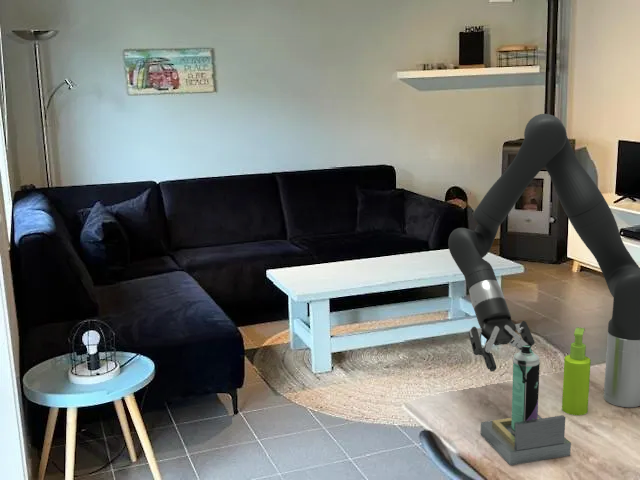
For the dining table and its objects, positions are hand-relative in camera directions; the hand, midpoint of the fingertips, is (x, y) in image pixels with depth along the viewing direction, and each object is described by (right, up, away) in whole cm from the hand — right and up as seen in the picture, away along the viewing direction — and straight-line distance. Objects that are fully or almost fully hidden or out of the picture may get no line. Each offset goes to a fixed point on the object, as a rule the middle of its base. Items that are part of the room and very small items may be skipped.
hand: (511, 368), depth 169 cm
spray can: (+2, -13, -3) cm, 14 cm away
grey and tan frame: (+2, -16, -3) cm, 17 cm away
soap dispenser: (+19, -12, +13) cm, 26 cm away
